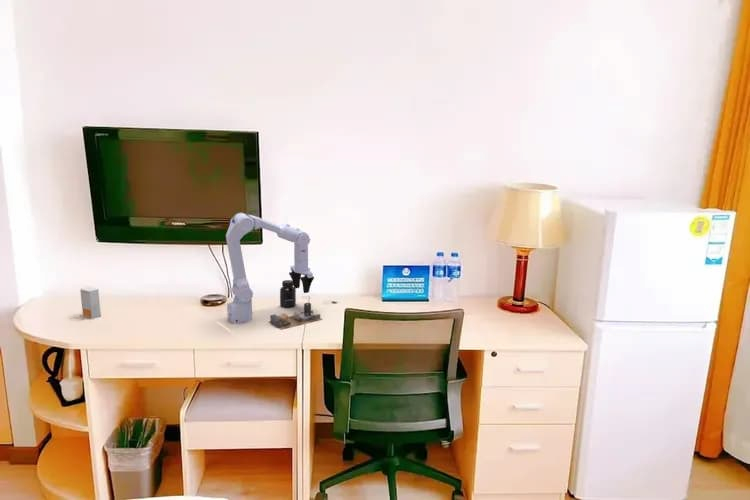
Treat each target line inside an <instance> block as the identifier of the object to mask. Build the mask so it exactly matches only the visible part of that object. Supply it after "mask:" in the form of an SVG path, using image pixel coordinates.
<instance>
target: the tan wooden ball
mask: <svg viewBox="0 0 750 500" xmlns="http://www.w3.org/2000/svg"><path fill="white" fill-rule="evenodd" d="M278 316H279V317H280V318H282V324H283V323H285V322H288V320H289V317H290V316H288V314H286V313H281V314H280V315H278Z"/></svg>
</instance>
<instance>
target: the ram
mask: <svg viewBox="0 0 750 500" xmlns="http://www.w3.org/2000/svg"><path fill="white" fill-rule="evenodd" d="M311 310H312V303H311V302H305V303H303V312H304V313H303V314H298V313H299V312H298V313H297V312H296V311H295V312H293V316H294V318H295V319H297V320H298V321H301V318H304V317H308V316H312V315H315V314H314V313H313V314H312V313H311Z"/></svg>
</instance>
